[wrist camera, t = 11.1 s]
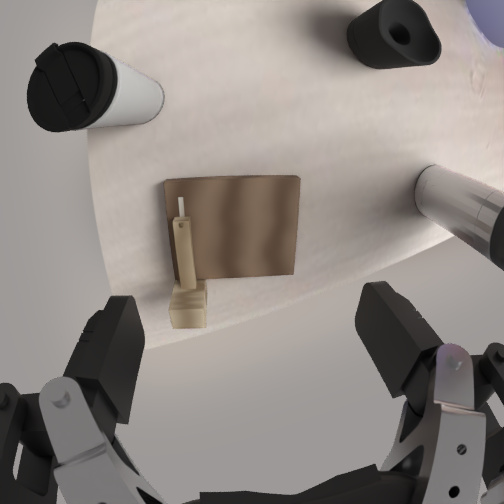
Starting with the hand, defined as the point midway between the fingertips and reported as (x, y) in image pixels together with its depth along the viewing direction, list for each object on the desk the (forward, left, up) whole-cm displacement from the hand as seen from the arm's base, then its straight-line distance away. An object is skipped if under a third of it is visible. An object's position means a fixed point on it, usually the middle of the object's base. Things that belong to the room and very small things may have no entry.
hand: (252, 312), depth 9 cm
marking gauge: (+6, +12, -28) cm, 31 cm away
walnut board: (0, +8, -28) cm, 29 cm away
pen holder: (-20, -20, -28) cm, 40 cm away
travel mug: (+11, -10, -28) cm, 32 cm away
